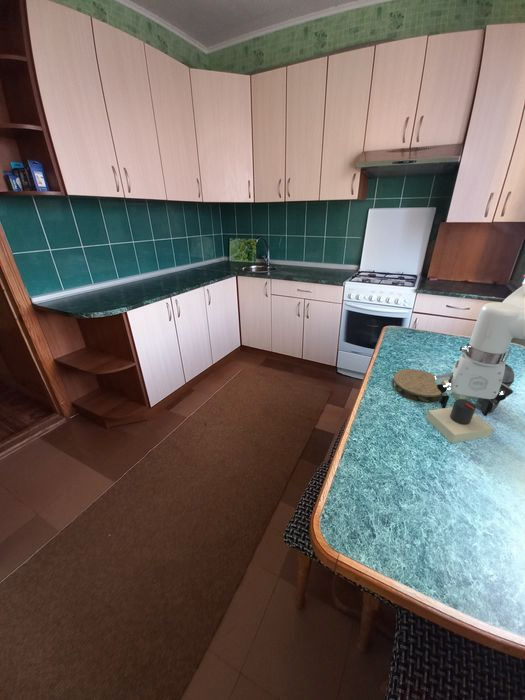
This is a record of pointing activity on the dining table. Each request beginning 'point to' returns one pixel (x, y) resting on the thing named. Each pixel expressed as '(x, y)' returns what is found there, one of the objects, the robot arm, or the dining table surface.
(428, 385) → the brown cork coaster
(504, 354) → the robot arm
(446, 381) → the block
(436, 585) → the dining table surface
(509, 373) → the beverage cup
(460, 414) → the timer dial
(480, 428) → the panel
